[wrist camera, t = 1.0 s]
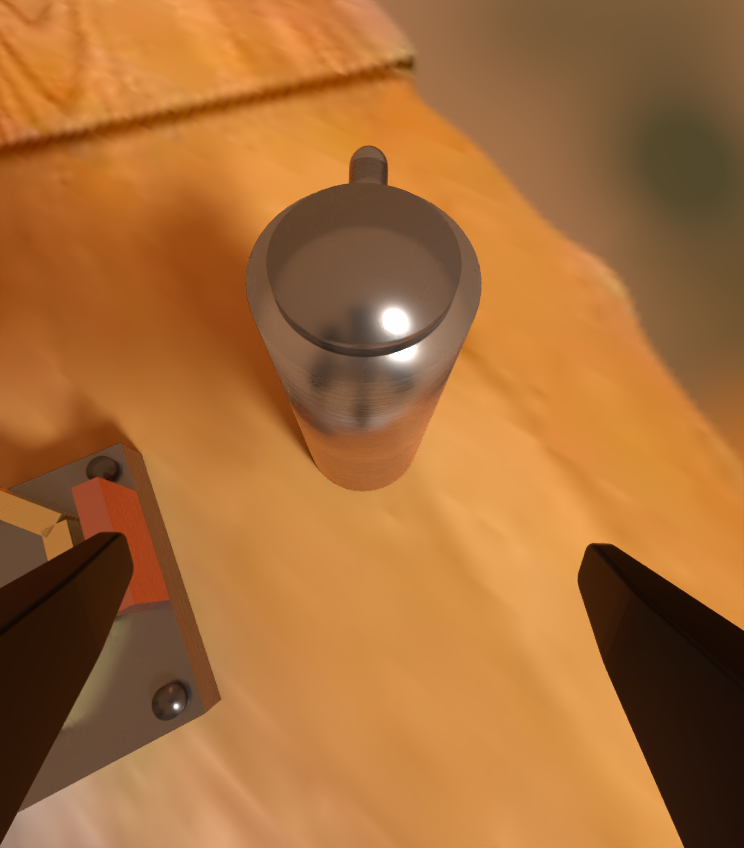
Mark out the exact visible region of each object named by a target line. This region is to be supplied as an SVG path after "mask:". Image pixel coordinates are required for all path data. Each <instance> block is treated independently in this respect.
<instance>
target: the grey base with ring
mask: <svg viewBox="0 0 744 848" xmlns="http://www.w3.org/2000/svg"><path fill="white" fill-rule="evenodd" d="M99 532H121V533H123V534H124V535H125V536H126V538H127V541H128V545H129V549H130V552H131V556H132V559H133V564H134V572H133V576H132V579H131V581H130V584H129V586H128V589H127V591H126V594H125V596H124V599H123V601H122V603H121V606H120V608H119V611H118V613H117V616H116V618H115V621H114V623H113V626H112V628H111V631H110V633H109V636H108V638H107V641H106V643H105V645H104V647H103V650H102V652H101V654H100V656H99V658H98V660H97V662H96V664H95V666H94V668H93V670H92V672H91V674H90V676H89V678H88V679H87V681H86V683H85V685H84V687H83V689H82V691H81V693H80V695H79V697H78V698H77V700H76V702H75V704H74V706H73V708H72V710H71V712H70V714H69V716H68V717H67V719H66V721H65V723H64V725H63V727H62V729H61V731H60V733H59V735H58V736H57V738H56V740H55V742H54V744H53V746H52V748H51V750H50V752H49V754H48V756H47V757H46V759H45V761H44V763H43V765H42V767H41V769H40V771H39V773H38V775H37V776H36V778H35V780H34V782H33V784H32V786H31V788H30V790H29V792H28V794H27V795H26V797H25V799H24V801H23V803H22V805H21V807H20V809H19V811H18V812H20V811H22V810H24V809H25V808H27V807H29V806H31V805H33V804H35V803H37V802H39V801H41V800H42V799H44V798H46V797H48V796H50V795H52V794H54V793H56V792H58V791H59V790H61V789H63V788H65V787H67V786H69V785H71V784H73V783H75V782H76V781H78V780H80V779H82V778H84V777H86V776H88V775H90V774H92V773H93V772H95V771H97V770H99V769H101V768H103V767H105V766H107V765H109V764H110V763H112V762H114V761H116V760H118V759H120V758H122V757H124V756H126V755H127V754H129V753H131V752H133V751H135V750H137V749H139V748H141V747H143V746H144V745H146V744H148V743H150V742H152V741H154V740H156V739H158V738H160V737H161V736H163V735H165V734H167V733H169V732H171V731H173V730H175V729H177V728H178V727H180V726H182V725H184V724H186V723H188V722H190V721H192V720H194V719H195V718H197V717H199V716H201V715H203V714H205V713H206V712H207V711H208V710H210V709H211V708H212V707H213V706H214V705H215V704H216V703H218V702H219V701H220V700H221V697H220V694H219V691H218V688H217V685H216V682H215V679H214V676H213V673H212V670H211V667H210V664H209V661H208V657H207V654H206V651H205V648H204V645H203V642H202V639H201V636H200V633H199V630H198V627H197V624H196V621H195V617H194V614H193V611H192V608H191V605H190V602H189V599H188V596H187V593H186V590H185V587H184V584H183V581H182V577H181V574H180V571H179V568H178V565H177V562H176V559H175V556H174V553H173V550H172V547H171V544H170V541H169V538H168V534H167V531H166V528H165V525H164V522H163V519H162V516H161V513H160V510H159V507H158V504H157V501H156V498H155V494H154V491H153V488H152V485H151V482H150V479H149V476H148V473H147V470H146V467H145V464H144V461H143V458H142V454H141V453H139V452H137V451H135V450H133V449H132V448H130V447H128V446H126V445H124V444H123V443H118V444H116V445H113V446H111V447H109V448H106V449H104V450H101V451H99V452H97V453H94V454H92V455H89V456H87V457H84V458H82V459H80V460H77V461H75V462H72V463H70V464H68V465H65V466H63V467H60V468H58V469H56V470H53V471H51V472H48V473H46V474H43V475H41V476H39V477H36V478H34V479H31V480H29V481H27V482H24V483H22V484H19V485H17V486H14V487H12V488H10V489H5V488H1V487H0V588H1V587H3V586H5V585H6V584H8V583H10V582H12V581H13V580H15V579H17V578H19V577H21V576H22V575H24V574H26V573H28V572H29V571H31V570H33V569H35V568H37V567H38V566H40V565H42V564H44V563H45V562H47V561H49V560H51V559H53V558H54V557H56V556H58V555H60V554H61V553H63V552H65V551H67V550H69V549H70V548H72V547H74V546H76V545H77V544H79V543H81V542H83V541H85V540H86V539H88V538H90V537H92V536H93V535H95V534H97V533H99Z"/></svg>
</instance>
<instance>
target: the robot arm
mask: <svg viewBox="0 0 744 848" xmlns="http://www.w3.org/2000/svg"><path fill="white" fill-rule="evenodd" d="M133 572H134V564H133V559H132V556H131V552H130V549H129V545H128V541H127V538H126V536H125V535H124V534H123V533H121V532H99V533H97V534H95V535H93V536H92V537H90V538H88V539H86V540H85V541H83V542H81V543H79V544H77V545H76V546H74V547H72V548H70V549H69V550H67V551H65V552H63V553H61V554H60V555H58V556H56V557H54V558H53V559H51V560H49V561H47V562H45V563H44V564H42V565H40V566H38V567H37V568H35V569H33V570H31V571H29V572H28V573H26V574H24V575H22V576H21V577H19V578H17V579H15V580H13V581H12V582H10V583H8V584H6V585H5V586H3V587H1V588H0V845H1V843H2V841H3V839H4V837H5V835H6V834H7V832H8V830H9V828H10V826H11V824H12V822H13V820H14V818H15V816H16V814H17V813H18V811H19V809H20V807H21V805H22V803H23V801H24V799H25V797H26V795H27V794H28V792H29V790H30V788H31V786H32V784H33V782H34V780H35V778H36V776H37V775H38V773H39V771H40V769H41V767H42V765H43V763H44V761H45V759H46V757H47V756H48V754H49V752H50V750H51V748H52V746H53V744H54V742H55V740H56V738H57V736H58V735H59V733H60V731H61V729H62V727H63V725H64V723H65V721H66V719H67V717H68V716H69V714H70V712H71V710H72V708H73V706H74V704H75V702H76V700H77V698H78V697H79V695H80V693H81V691H82V689H83V687H84V685H85V683H86V681H87V679H88V678H89V676H90V674H91V672H92V670H93V668H94V666H95V664H96V662H97V660H98V658H99V656H100V654H101V652H102V650H103V647H104V645H105V643H106V641H107V638H108V636H109V633H110V631H111V628H112V626H113V623H114V621H115V618H116V616H117V613H118V611H119V608H120V606H121V603H122V601H123V599H124V596H125V594H126V591H127V589H128V586H129V584H130V581H131V579H132V576H133ZM578 586H579V590H580V593H581V596H582V599H583V602H584V605H585V608H586V611H587V614H588V617H589V620H590V624H591V627H592V630H593V633H594V636H595V639H596V642H597V645H598V648H599V651H600V654H601V657H602V660H603V663H604V665H605V668H606V670H607V672H608V675H609V677H610V679H611V682H612V684H613V686H614V689H615V691H616V693H617V695H618V698H619V700H620V702H621V705H622V707H623V709H624V711H625V714H626V716H627V718H628V721H629V723H630V725H631V727H632V730H633V732H634V734H635V737H636V739H637V741H638V743H639V746H640V748H641V750H642V752H643V755H644V757H645V759H646V762H647V764H648V766H649V768H650V771H651V773H652V775H653V778H654V780H655V782H656V784H657V787H658V789H659V791H660V794H661V796H662V798H663V800H664V803H665V805H666V807H667V810H668V812H669V814H670V816H671V819H672V821H673V823H674V825H675V828H676V830H677V832H678V835H679V837H680V839H681V841H682V844H683V846H684V848H744V630H742V629H741V628H739V627H738V626H736V625H734V624H733V623H731V622H730V621H728V620H727V619H725V618H724V617H722V616H721V615H719V614H718V613H716V612H715V611H713V610H712V609H710V608H709V607H707V606H706V605H704V604H703V603H701V602H699V601H698V600H696V599H695V598H693V597H692V596H690V595H689V594H687V593H686V592H684V591H683V590H681V589H680V588H678V587H677V586H675V585H674V584H672V583H671V582H669V581H668V580H666V579H664V578H663V577H661V576H660V575H658V574H657V573H655V572H654V571H652V570H651V569H649V568H648V567H646V566H645V565H643V564H642V563H640V562H639V561H637V560H636V559H634V558H632V557H631V556H629V555H628V554H626V553H625V552H623V551H622V550H620V549H619V548H617V547H616V546H614V545H612V544H608V543H592V544H589V545H588V546H587V548H586V550H585V553H584V557H583V560H582V563H581V566H580V569H579V572H578Z"/></svg>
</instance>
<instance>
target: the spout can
mask: <svg viewBox="0 0 744 848" xmlns="http://www.w3.org/2000/svg"><path fill="white" fill-rule="evenodd" d="M246 293H247V299H248V303H249V307H250V310H251V313H252V315H253V318H254V320H255V322H256V325H257V327H258V329H259V332H260V334H261V337H262V339H263V341H264V344H265V346H266V348H267V351H268V353H269V356H270V358H271V360H272V363H273V365H274V367H275V370H276V372H277V375H278V377H279V379H280V382H281V384H282V387H283V389H284V391H285V394H286V396H287V398H288V401H289V403H290V406H291V408H292V410H293V413H294V415H295V417H296V420H297V422H298V425H299V427H300V429H301V432H302V434H303V436H304V439H305V441H306V444H307V446H308V448H309V451H310V453H311V455H312V458H313V460H314V462H315V464H316V466H317V467H318V469H319V470H320V471H321V472H322V474H323V475H324V476H325V477H327V478H328V479H329V480H330V481H332V482H333V483H335V484H337V485H339V486H341V487H343V488H346V489H350V490H354V491H371V490H377V489H380V488H383V487H385V486H387V485H390V484H391V483H393V482H394V481H396V480H397V479H398V478H400V477H401V476H402V475H403V474H404V473H405V471H406V470H407V469H408V467H409V466H410V464H411V462H412V460H413V458H414V456H415V454H416V451H417V449H418V447H419V444H420V442H421V440H422V438H423V435H424V433H425V431H426V428H427V426H428V424H429V421H430V419H431V417H432V415H433V412H434V410H435V408H436V405H437V403H438V401H439V398H440V396H441V394H442V392H443V389H444V387H445V385H446V382H447V380H448V378H449V375H450V373H451V371H452V368H453V366H454V364H455V362H456V359H457V357H458V355H459V352H460V350H461V348H462V345H463V343H464V341H465V339H466V336H467V334H468V332H469V329H470V327H471V325H472V322H473V320H474V318H475V315H476V312H477V309H478V306H479V302H480V296H481V273H480V266H479V263H478V259H477V256H476V253H475V251H474V249H473V247H472V245H471V243H470V241H469V239H468V238H467V236H466V235H465V233H464V232H463V230H462V229H461V228H460V227H459V226H458V225H457V223H456V222H455V221H454V220H453V219H452V218H450V217H449V216H448V215H447V214H446V213H445V212H444V211H442V210H441V209H439V208H438V207H437V206H435V205H434V204H432V203H430V202H428V201H426V200H425V199H423V198H421V197H418V196H416V195H414V194H412V193H409V192H407V191H405V190H402V189H399V188H396V187H392V186H388V163H387V159H386V157H385V155H384V154H383V153H382V151H381V150H379V149H378V148H376V147H374V146H363V147H361V148H359V149H358V150H357V151H356V152H355V153H354V154H353V156H352V158H351V160H350V166H349V184H343V185H338V186H334V187H330V188H327V189H324V190H321V191H319V192H317V193H314V194H311V195H309V196H307V197H305V198H302V199H300V200H298V201H297V202H295V203H294V204H292V205H290V206H289V207H287V208H286V209H285V210H283V211H282V212H281V213H280V214H278V215H277V216H276V217H275V218H274V219H273V220H272V221H271V222H270V223H269V224H268V225H267V227H266V228H265V229H264V231H263V232H262V233H261V235H260V236H259V238H258V240H257V241H256V243H255V245H254V247H253V250H252V252H251V255H250V257H249V261H248V266H247V270H246Z"/></svg>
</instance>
